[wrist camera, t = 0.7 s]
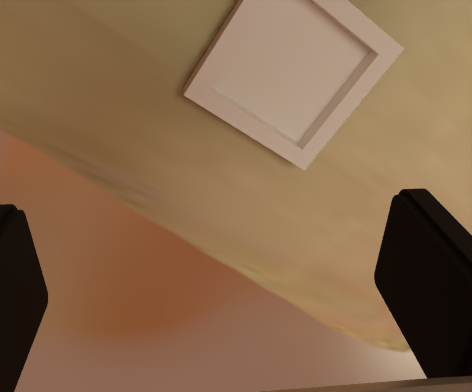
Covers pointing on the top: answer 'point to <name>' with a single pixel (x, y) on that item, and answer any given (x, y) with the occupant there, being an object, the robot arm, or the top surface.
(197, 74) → the ceramic tray
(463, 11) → the top surface
